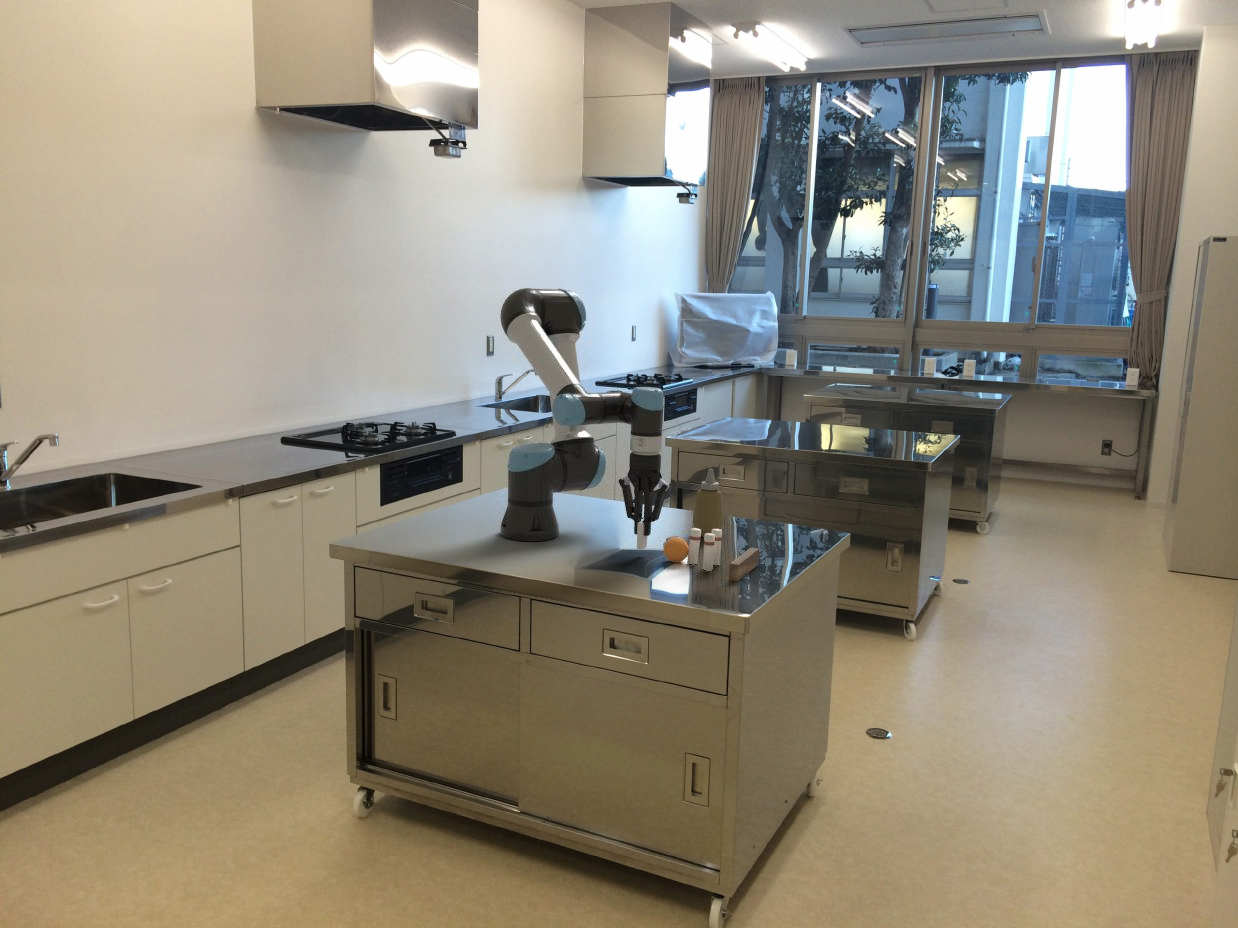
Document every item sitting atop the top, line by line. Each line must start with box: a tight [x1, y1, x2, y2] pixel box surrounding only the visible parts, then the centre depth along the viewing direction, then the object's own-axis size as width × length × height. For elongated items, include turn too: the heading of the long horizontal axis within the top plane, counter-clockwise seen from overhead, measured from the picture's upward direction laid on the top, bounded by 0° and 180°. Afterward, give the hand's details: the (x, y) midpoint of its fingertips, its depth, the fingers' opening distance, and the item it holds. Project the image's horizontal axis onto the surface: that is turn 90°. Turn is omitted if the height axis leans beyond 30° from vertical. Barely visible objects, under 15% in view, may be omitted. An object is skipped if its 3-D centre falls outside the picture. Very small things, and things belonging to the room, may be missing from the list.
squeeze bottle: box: [692, 468, 724, 536], centre depth 259 cm, size 8×8×18 cm
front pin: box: [686, 527, 702, 565], centre depth 232 cm, size 2×2×8 cm
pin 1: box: [702, 533, 715, 572], centre depth 228 cm, size 2×2×8 cm
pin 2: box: [712, 528, 723, 566], centre depth 232 cm, size 2×2×8 cm
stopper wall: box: [728, 547, 760, 582], centre depth 227 cm, size 2×16×4 cm, turn 156°
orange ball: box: [663, 536, 689, 563], centre depth 234 cm, size 6×6×6 cm
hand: (641, 547), depth 237 cm, fingers closed
